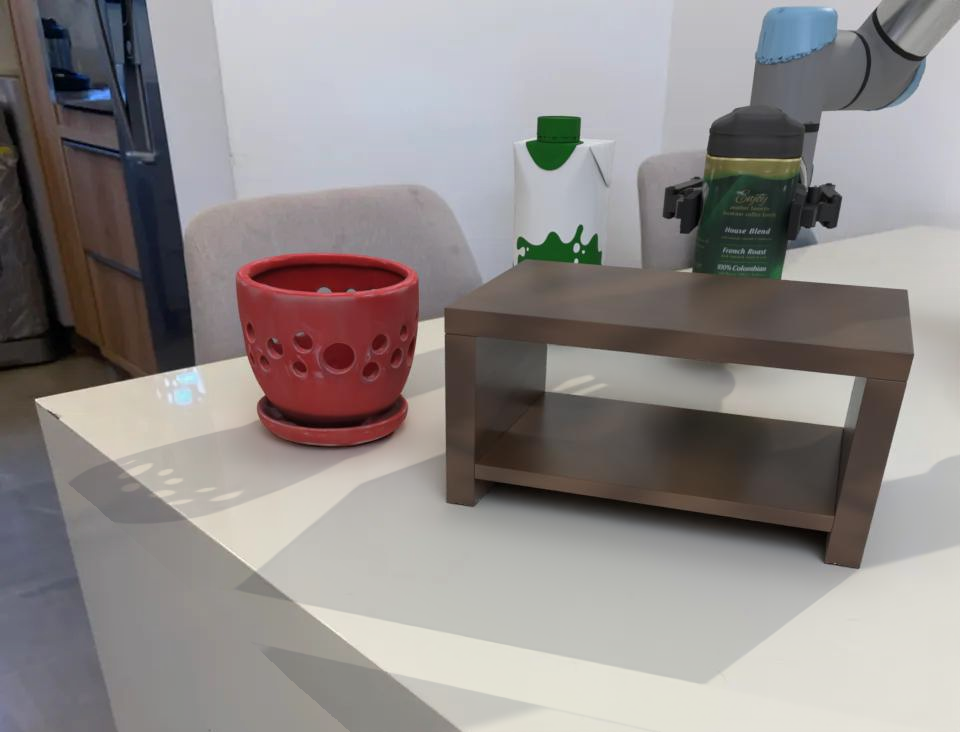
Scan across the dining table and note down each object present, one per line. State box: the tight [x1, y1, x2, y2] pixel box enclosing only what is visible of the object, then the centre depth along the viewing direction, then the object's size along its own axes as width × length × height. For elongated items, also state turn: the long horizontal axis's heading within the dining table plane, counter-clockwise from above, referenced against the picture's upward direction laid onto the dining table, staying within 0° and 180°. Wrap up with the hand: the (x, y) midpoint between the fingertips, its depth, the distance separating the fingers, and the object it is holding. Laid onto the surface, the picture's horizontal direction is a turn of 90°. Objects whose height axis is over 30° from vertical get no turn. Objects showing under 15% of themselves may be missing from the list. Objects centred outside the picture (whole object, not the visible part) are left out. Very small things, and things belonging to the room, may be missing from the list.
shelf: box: [443, 259, 915, 569], centre depth 62 cm, size 26×16×12 cm, turn 70°
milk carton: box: [512, 115, 617, 267], centre depth 93 cm, size 9×9×20 cm
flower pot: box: [235, 252, 420, 447], centre depth 71 cm, size 13×13×12 cm
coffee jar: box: [691, 105, 805, 280], centre depth 82 cm, size 10×8×19 cm
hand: (739, 219), depth 78 cm, fingers closed on coffee jar, 8 cm apart
